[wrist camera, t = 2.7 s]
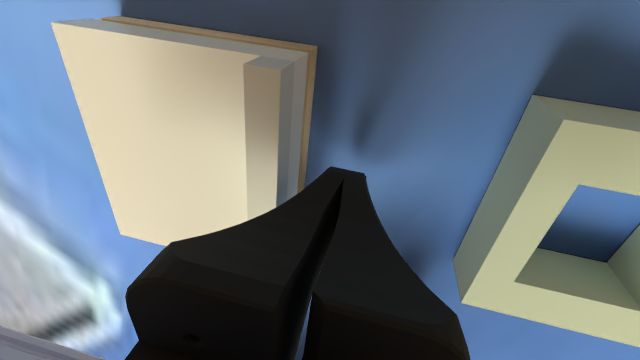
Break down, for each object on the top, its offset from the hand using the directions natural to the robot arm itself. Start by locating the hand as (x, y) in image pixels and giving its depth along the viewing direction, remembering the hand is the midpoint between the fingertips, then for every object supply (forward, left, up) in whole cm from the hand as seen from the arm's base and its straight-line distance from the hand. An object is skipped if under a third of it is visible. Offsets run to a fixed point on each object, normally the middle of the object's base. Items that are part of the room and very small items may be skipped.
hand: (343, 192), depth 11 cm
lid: (0, +6, -1) cm, 6 cm away
